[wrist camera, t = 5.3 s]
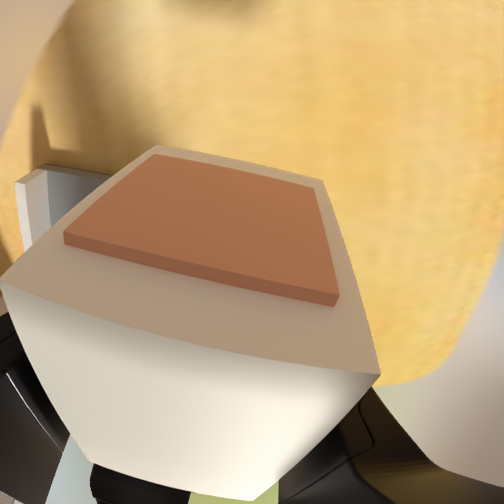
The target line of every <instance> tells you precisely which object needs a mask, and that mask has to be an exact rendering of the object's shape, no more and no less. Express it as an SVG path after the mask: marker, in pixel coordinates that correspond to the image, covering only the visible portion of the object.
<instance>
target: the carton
mask: <svg viewBox="0 0 504 504" xmlns="http://www.w3.org/2000/svg"><path fill="white" fill-rule="evenodd" d="M0 288H1V291H2V294H3V297H4V300H5V303H6V306H7V309H8V311H9V314H10V317H11V319H12V322H13V324H14V327H15V329H16V332H17V334H18V336H19V339H20V341H21V343H22V346H23V348H24V350H25V352H26V354H27V357H28V359H29V361H30V363H31V365H32V367H33V369H34V371H35V373H36V375H37V377H38V379H39V381H40V383H41V385H42V387H43V388H44V390H45V392H46V394H47V396H48V398H49V399H50V401H51V403H52V405H53V406H54V408H55V410H56V411H57V413H58V415H59V416H60V418H61V420H62V421H63V423H64V424H65V426H66V428H67V429H68V431H69V432H70V434H71V435H72V437H73V438H74V440H75V441H76V443H77V444H78V446H79V447H80V449H81V450H82V451H83V453H84V454H85V456H86V457H87V458H88V460H89V461H90V462H92V463H95V464H98V465H100V466H103V467H106V468H108V469H111V470H114V471H117V472H120V473H123V474H126V475H129V476H132V477H136V478H139V479H142V480H146V481H149V482H153V483H157V484H161V485H165V486H169V487H173V488H177V489H181V490H186V491H191V492H196V493H201V494H206V495H213V496H219V497H225V498H232V499H240V500H249V501H253V500H254V499H256V498H257V497H258V496H259V495H261V494H262V493H263V492H264V491H266V490H267V489H268V488H269V487H271V486H272V485H273V484H274V483H275V482H277V481H278V480H279V479H280V478H281V477H282V476H284V475H285V474H286V473H287V472H288V471H289V470H290V469H292V468H293V467H294V466H295V465H296V464H297V463H298V462H299V461H300V460H301V459H303V458H304V457H305V456H306V455H307V454H308V453H309V452H310V451H311V450H312V449H313V448H314V447H315V446H316V445H317V444H318V443H319V442H320V441H321V440H322V439H323V438H324V437H325V436H326V435H327V434H328V433H329V432H330V431H331V430H332V429H333V428H334V427H335V426H336V425H337V424H338V423H339V422H340V421H341V420H342V419H343V418H344V417H345V415H346V414H347V413H348V412H349V411H350V410H351V409H352V408H353V407H354V406H355V404H356V403H357V402H358V401H359V400H360V399H361V398H362V396H363V395H364V394H365V393H366V392H367V391H368V389H369V388H370V387H371V386H372V385H373V383H374V382H375V381H376V380H377V379H378V377H379V376H380V375H381V372H380V368H379V364H378V360H377V355H376V351H375V347H374V343H373V339H372V335H371V332H370V328H369V324H368V320H367V317H366V313H365V309H364V306H363V302H362V299H361V295H360V292H359V288H358V285H357V281H356V278H355V275H354V272H353V268H352V265H351V262H350V259H349V256H348V252H347V249H346V246H345V243H344V240H343V237H342V234H341V231H340V228H339V225H338V222H337V219H336V216H335V214H334V211H333V208H332V205H331V202H330V199H329V197H328V194H327V191H326V189H325V186H324V183H323V181H322V180H319V179H315V178H311V177H307V176H304V175H300V174H296V173H292V172H288V171H284V170H280V169H276V168H272V167H267V166H263V165H259V164H254V163H250V162H246V161H241V160H236V159H232V158H227V157H222V156H217V155H212V154H207V153H202V152H197V151H192V150H186V149H181V148H175V147H169V146H163V145H157V144H156V145H155V146H153V147H152V148H150V149H149V150H147V151H146V152H145V153H143V154H142V155H140V156H139V157H138V158H136V159H135V160H133V161H132V162H131V163H129V164H128V165H127V166H125V167H124V168H122V169H121V170H120V171H118V172H117V173H116V174H114V175H113V176H112V177H111V178H109V179H108V180H107V181H105V182H104V183H103V184H102V185H100V186H99V187H98V188H96V189H95V190H94V191H93V192H92V193H90V194H89V195H88V196H87V197H85V198H84V199H83V200H82V201H81V202H79V203H78V204H77V205H76V206H75V207H73V208H72V209H71V210H70V211H69V212H68V213H66V214H65V215H64V216H63V217H62V218H61V219H60V220H58V221H57V222H56V223H55V224H54V225H53V226H52V227H51V228H50V229H48V230H47V231H46V232H45V233H44V234H43V235H42V236H41V237H40V238H39V239H38V240H37V241H36V242H35V243H34V244H32V245H31V246H30V247H29V248H28V249H27V250H26V251H25V252H24V253H23V254H22V255H21V256H20V257H19V258H18V259H17V260H16V261H15V262H14V263H13V264H12V265H11V266H10V267H9V269H8V270H7V271H6V272H5V273H4V274H3V275H2V276H1V277H0Z"/></svg>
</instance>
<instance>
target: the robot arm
mask: <svg viewBox="0 0 504 504" xmlns="http://www.w3.org/2000/svg"><path fill="white" fill-rule="evenodd" d="M69 435H70V432H69V431H68V429H67V428H66V426H65V424H64V423H63V421H62V420H61V418H60V416H59V415H58V413H57V411H56V410H55V408H54V406H53V405H52V403H51V401H50V399H49V398H48V396H47V394H46V392H45V390H44V388H43V387H42V385H41V383H40V381H39V379H38V377H37V375H36V373H35V371H34V369H33V367H32V365H31V363H30V361H29V359H28V357H27V354H26V352H25V350H24V348H23V346H22V343H21V341H20V339H19V336H18V334H17V332H16V329H15V327H14V324H13V322H12V319H11V317H10V314H9V312H7V313H5V314H3V315H1V316H0V504H13V503H14V500H17V501H19V502H21V503H23V504H45V502H46V499H47V496H48V493H49V490H50V487H51V484H52V481H53V479H54V476H55V473H56V470H57V467H58V465H59V462H60V459H61V456H62V452H63V451H64V448H65V446H66V443H67V441H68V438H69ZM90 487H91V491H92V495H93V497H94V498H96V501H97V504H188V501H189V497H190V494H191V491H186V490H181V489H177V488H173V487H169V486H165V485H161V484H157V483H153V482H149V481H146V480H142V479H139V478H136V477H132V476H129V475H126V474H123V473H120V472H117V471H114V470H111V469H108V468H106V467H103V466H100V465H98V464H95V463H94V466H93V469H92V472H91V476H90ZM192 493H196V492H192ZM278 500H279V502H278V504H504V487H499V486H496V485H492V484H489V483H485V482H482V481H478V480H475V479H472V478H469V477H465V476H462V475H459V474H456V473H453V472H450V471H447V470H445V469H443V468H441V467H439V466H437V465H436V464H434V463H433V462H432V461H431V460H430V459H429V458H428V457H427V456H426V455H425V454H424V453H423V451H422V450H421V449H420V448H419V447H418V445H417V444H416V443H415V442H414V441H413V440H412V438H411V437H410V436H409V435H408V434H407V432H406V431H405V430H404V429H403V428H402V426H401V425H400V424H399V423H398V422H397V420H396V419H395V418H394V416H393V415H392V414H391V413H390V411H389V410H388V409H387V408H386V406H385V405H384V403H383V402H382V401H381V399H380V398H379V396H378V395H377V394H376V392H375V391H374V389H373V388H372V386H371V387H370V388H369V389H368V391H367V392H366V393H365V394H364V395H363V396H362V398H361V399H360V400H359V401H358V402H357V403H356V404H355V406H354V407H353V408H352V409H351V410H350V411H349V412H348V413H347V414H346V415H345V417H344V418H343V419H342V420H341V421H340V422H339V423H338V424H337V425H336V426H335V427H334V428H333V429H332V430H331V431H330V432H329V433H328V434H327V435H326V436H325V437H324V438H323V439H322V440H321V441H320V442H319V443H318V444H317V445H316V446H315V447H314V448H313V449H312V450H311V451H310V452H309V453H308V454H307V455H306V456H305V457H304V458H303V459H301V460H300V461H299V462H298V463H297V464H296V465H295V466H294V467H293V468H292V469H290V470H289V471H288V472H287V473H286V474H285V475H284V476H282V477H281V478H280V479H279V499H278Z"/></svg>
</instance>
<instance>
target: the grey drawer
mask: <svg viewBox="0 0 504 504" xmlns="http://www.w3.org/2000/svg"><path fill="white" fill-rule="evenodd" d="M111 177H112V176H111V175H105V174H100V173H95V172H89V171H84V170H78V169H72V168H67V167H61V166H55V165H49V164H44V165H42V166H40V167H39V168H37V169H35V170H34V171H32V172H30V173H29V174H27V175H25V176H24V177H22V178H20V179H19V180H17V181H16V182H15V190H16V200H17V208H18V215H19V222H20V229H21V235H22V240H23V246H24V251H26V250H27V249H28V248H29V247H30V246H31V245H32V244H34V243H35V242H36V241H37V240H38V239H39V238H40V237H41V236H42V235H43V234H44V233H45V232H46V231H47V230H48V229H50V228H51V227H52V226H53V225H54V224H55V223H56V222H57V221H58V220H60V219H61V218H62V217H63V216H64V215H65V214H66V213H68V212H69V211H70V210H71V209H72V208H73V207H75V206H76V205H77V204H78V203H79V202H81V201H82V200H83V199H84V198H85V197H87V196H88V195H89V194H90V193H92V192H93V191H94V190H95V189H96V188H98V187H99V186H100V185H102V184H103V183H104V182H105V181H107V180H108V179H109V178H111Z"/></svg>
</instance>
